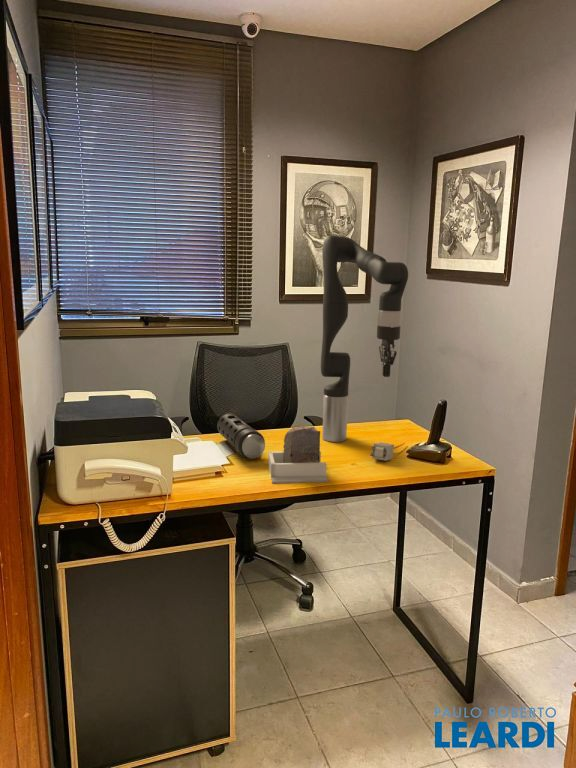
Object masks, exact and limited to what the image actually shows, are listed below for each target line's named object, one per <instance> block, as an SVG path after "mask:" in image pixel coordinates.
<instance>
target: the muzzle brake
mask: <svg viewBox="0 0 576 768" xmlns="http://www.w3.org/2000/svg"><path fill="white" fill-rule="evenodd" d="M216 429H217V431H218V433H219V434H220V435H221V436H222V437H223V438H224V439H225V440H226V441H227V442H228V443H230V444H231V446H233V447H234V449H236V451H237V452H238V453H239V455H241V456H242V457H244V458H246V459H252V460H253V459H257V458H259V457H261V456H262V455H263V453H264V451H265V449H266V440H265V438H264V436H263V435H262V434H261V432H259V431H258V430H256V429H254V428H252V427H251V426H250V425H248V424H247V423H246V422H245V421H243V420H242V419H241V418H240V417H238V416H237V415H236V414H234V413H225V414H223V415H222V416H221V417H220V418H219V419H218V421H217V425H216Z"/></svg>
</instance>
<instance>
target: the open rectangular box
mask: <svg viewBox="0 0 576 768" xmlns="http://www.w3.org/2000/svg"><path fill="white" fill-rule="evenodd" d="M283 453H284V451H268V453H267V454H268V458H267V459H268V461H267V462H268V465H267V466H268V470H269V474H270V475H271V476H270V481H271V480H272V481H271V483H272V484H303V483H304V484H305V483H306V482H307V484H308V483H309V482H311V483H329V479H328V476H327V464H328V463H327V462H326V461H325V462H322V461H321V459H322V458H321V457H322V456H321V455H322V454H321V453H322V452H321V450H320V455H319V462H318V463H283ZM299 482H301V483H299ZM302 482H303V483H302Z"/></svg>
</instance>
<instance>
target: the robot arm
mask: <svg viewBox="0 0 576 768" xmlns="http://www.w3.org/2000/svg"><path fill="white" fill-rule="evenodd" d="M321 250H322V253H321V254H322V266H323V267H322V271H323V272H322V273H323V296H322V297H323V298H322V299H323V301H322V340H321V341H322V343H321V355H320V373H321V376H322V377H325V378H339V379H337V381H335V382H334V383H330V384H328V385H325V386H324V388H323V400H322V401H323V403H322V404H323V406H322V407H323V408H322V409H323V411H322V432H321V433H322V434H321V436H322V437H321V439H322V440H323V441H327V442H332V443H335V442H336V443H340V442H345V441H346V440H347V433H348V432H347V431H348V430H347V429H348V413H349V412H348V410H349V385H350V384H349V383H350V372H351V357H350V356H351V355H350V354H349V353H348V352H342V351H341V352H337V351H335V352H331V347H332V345H333V343H334V340H335V338H336V336H337V335H338V333H339V332H340V330H341V329H342V328H343V326H344V325H345V323H346V321H347V319H348V316H349V315H348V314H349V297H348V294H347V292H346V290H345V288H344V286H343V284H342V282H341V280H340V277H339V273H338V263H351V264H355V265H356V266H357V268H358V269H359V270H360V271H362V272H363V273H365V274H367V275H369V276H371V278H373V279H374V281H376V282H377V283H379V284H382V285H390V287H389V289H388V290H386V291H383V292H381V293H380V295H379V302H378V303H379V304H378V314H377V327H376V339H378V340H381V344H380V345H379V346H378V350H379V356H380V363H381V365H382V377H385V378H389V377H390V376H391V366H393V365H394V363H395V359H396V357H397V353H398V352H397V351H396V345H395V341H397V340H398V341H399V340H400V338H401V324H402V299H403V295H404V292H405V288H406V286H407V283H408V279H409V269H408V267H407V265H406V264H405V263H404V262H399V261H398V262H396V261H395V262H393V261H392V262H391V261H387V260H386V259H385V258H384V257H383V256H381V255H379V254H377V253H373V252H372V251H370V250H368V249H366V248H364V247H362V246H361V245H360V244H358V242H356V241H355V240H354V239H352V238H350V237H348V236H339V235H328V236H327V235H326V237H325V238H324V240H323V243H322V249H321Z"/></svg>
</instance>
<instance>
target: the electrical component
mask: <svg viewBox="0 0 576 768" xmlns="http://www.w3.org/2000/svg"><path fill="white" fill-rule="evenodd" d="M405 444H406V442H403V443H401V444H399V445H397V446H395V444H392V443H386V442H374V443H373V445H371V446H370V448H371V450H372V452H371V453H370V455H369V456H371V458H372V459H375V460H381V461H390V460H392V459H393V456H394V455H398V454H401V453H403V452H404V451H403V450H404V449H405V450H406V449H407V447H408V446H406V447H404V449H402V450H401V451H400V452H399V451H398V452H396V453H395V452H394V450H396V449H397V448H399V447H401V446H403V445H405ZM402 451H403V452H402Z"/></svg>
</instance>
